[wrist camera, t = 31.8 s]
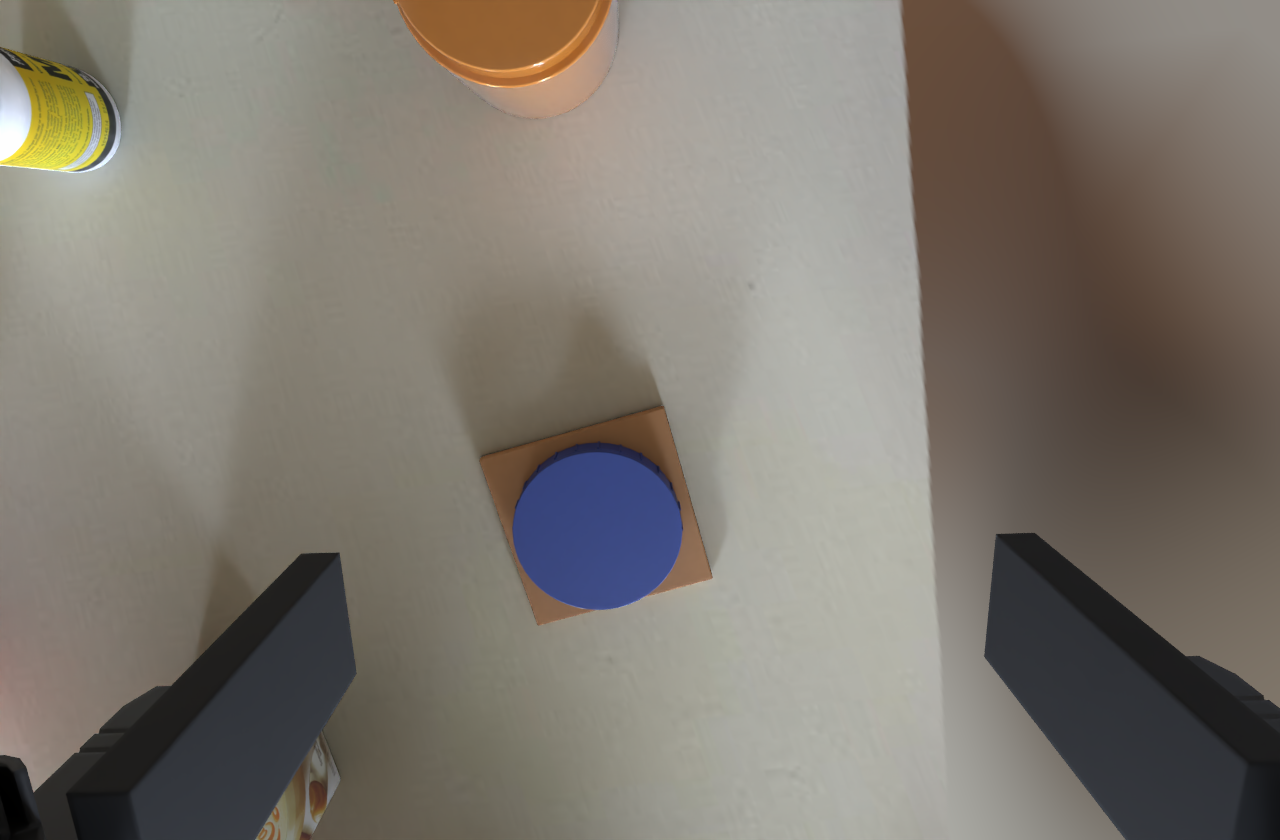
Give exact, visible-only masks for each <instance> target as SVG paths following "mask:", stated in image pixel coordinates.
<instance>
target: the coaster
mask: <svg viewBox="0 0 1280 840" xmlns="http://www.w3.org/2000/svg"><path fill="white" fill-rule="evenodd" d="M598 441H600V443H610V444H615V445H620V444H621V445H622V446H623V447H626V448H629V449H632V450H634V451H636V452H638V453H640V452H641V453H642V455H643V456H645V457H646V458H648V459H649V460H651V461H652V462H653V463H654V464H655V465H656V466H659V467H660V470H661V471H662V472H663V473H664V474H665V476H666V477H667V479H668V480H669V482H672V485H673V489H674V491H675V494H676V497H677V500H678V501H680V506H681V510H680V515H681V521H682V525H683V531H682V542H681V547H680V551H679V555H678V557H677V560H676V562H675V564H674V566H673V568H672V570H671V571H670V573H669V574H668V576H667V577H666V578H665V579H664V581H663V582H662V583H661V584H660V585H659V586H658V587H657V588H656V589H654V590H653V591H652V592H651V593H649V594H648V595H646V596H650V595H654V594H658V593H661V592H665V591H669V590H672V589H676V588H680V587H684V586H687V585H691V584H695V583H699V582H702V581H706V580H710V579H712V578H713V577H712V573H711V570H710V566H709V563H708V559H707V556H706V552H705V549H704V545H703V542H702V538H701V535H700V531H699V528H698V524H697V521H696V517H695V514H694V510H693V507H692V503H691V500H690V496H689V493H688V489H687V486H686V482H685V479H684V475H683V472H682V468H681V465H680V461H679V458H678V454H677V451H676V447H675V444H674V440H673V437H672V433H671V430H670V427H669V423H668V420H667V416H666V413H665V409H664V406H659V407H656V408H652V409H649V410H645V411H642V412H638V413H635V414H631V415H627V416H624V417H620V418H617V419H613V420H610V421H606V422H603V423H599V424H596V425H592V426H588V427H585V428H581V429H578V430H574V431H571V432H567V433H564V434H560V435H556V436H553V437H549V438H546V439H542V440H539V441H535V442H532V443H528V444H525V445H521V446H517V447H514V448H510V449H507V450H503V451H500V452H496V453H493V454H489V455H486V456H482V457H481V458H480V464H481V466H482V469H483V472H484V475H485V478H486V481H487V483H488V486H489V489H490V492H491V495H492V497H493V500H494V503H495V506H496V509H497V512H498V514H499V517H500V520H501V523H502V526H503V528H504V531H505V534H506V537H507V540H508V543H509V545H510V548H511V551H512V554H513V557H514V559H515V562H516V565H517V568H518V571H519V574H520V576H521V579H522V582H523V585H524V588H525V590H526V593H527V596H528V599H529V602H530V605H531V607H532V610H533V613H534V616H535V619H536V621H537V624H538V625H542V624H546V623H550V622H553V621H557V620H561V619H565V618H568V617H572V616H576V615H579V614H583V613H587V612H591V611H594V610H592V609H583V608H578V607H574V606H571V605H568V604H565V603H563V602H560V601H558V600H556V599H554V598H553V597H551V596H549V595H548V594H546V593H545V592H544V591H543V590H541V589H540V588H539V587H538V586H537V585H536V584H535V583H534V582H533V581H532V580H531V579H530V578H529V576H528V575H527V574H526V572H525V571H524V569H523V567H522V565H521V564H520V562H519V559H518V556H517V554H516V551H515V547H514V542H513V530H512V527H513V519H514V513H515V510H516V509H514V508H515V505H516V503H517V500H519V498H520V496H521V493H522V490H523V489H522V488H523V486H524V483H525V481H528V479H529V478H530V476H531V475H532V474H533V472H534V471H535V470H536V469H537V467H538V465H539V464H540V465H541V464H542V463H543V462H545V461H546V460H547V459H548V458H550V457H551V456H553V455H555V452H560V451H562V450H564V449H567V448H570V447H573V446H576V444H578V445H581V444H586V443H598ZM646 596H645V597H646Z"/></svg>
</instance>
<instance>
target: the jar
mask: <svg viewBox="0 0 1280 840" xmlns="http://www.w3.org/2000/svg"><path fill="white" fill-rule="evenodd" d="M393 1H394V3H395V4H397V6H398V9H399V12H400V14H401V16H402V18H403V20H404V22H405V24H406V25H407V27H408V29H409V31H410V32H411V33H412V35H413V36H414V38H415V39H416V41H417V42H418V43H419V44H420V45H421V47H422V48H423V49H424V50H425V51H426V52H427V53H428V54H429V55H430V56H431V57H432V58H433V59H434V60H435V61H437V62H438V63H439V64H440V65H441V66H442V67H444V68H445V69H446V70H447V71H448V72H450V73H451V74H452V75H453V76H454V77H456V78H457V79H458V80H459V81H460V82H462V83H463V84H464V85H465V86H466V87H468V88H469V89H470V90H471V91H472V92H474V93H475V94H476V95H477V96H478V97H480V98H481V99H482V100H483V101H485V102H486V103H488V104H489V105H491V106H492V107H494V108H496V109H498V110H500V111H502V112H504V113H507V114H510V115H513V116H517V117H522V118H532V119H539V118H548V117H553V116H557V115H560V114H563V113H565V112H568V111H570V110H572V109H574V108H575V107H577V106H579V105H580V104H581V103H583V102H584V101H585V100H587V99H588V98H589V97H590V96H591V95H592V94H593V93H594V92H595V91H596V90H597V88H598V87H599V86H600V85H601V83H602V82H603V80H604V79H605V77H606V75H607V73H608V72H609V69H610V67H611V65H612V62H613V59H614V56H615V53H616V49H617V42H618V32H619V18H618V0H393Z"/></svg>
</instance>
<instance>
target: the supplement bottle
mask: <svg viewBox="0 0 1280 840" xmlns="http://www.w3.org/2000/svg"><path fill="white" fill-rule="evenodd" d="M120 138H121V121H120V116H119V112H118V109H117V106H116V104H115V102H114V100H113V98H112V97H111V95H110V94H109V92H108V91H107V90H106V88H105V87H104V86H103V85H102V84H101V83H100V82H99V81H97V80H96V79H95V78H94V77H92V76H91V75H89V74H87V73H85V72H84V71H81V70H79V69H77V68H74V67H71V66H67V65H63V64H60V63H56V62H52V61H49V60H45V59H41V58H38V57H34V56H31V55H27V54H23V53H19V52H16V51H12V50H9V49H6V48H2V47H0V165H1V166H12V167H23V168H33V169H43V170H54V171H64V172H87V171H91V170H94V169H97V168H99V167H101V166H102V165H104V164H105V163H107V162H108V161H109V160H110V159H111V158H112V156H113V155H114V153H115V152H116V150H117V148H118V145H119V142H120Z"/></svg>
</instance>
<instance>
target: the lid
mask: <svg viewBox="0 0 1280 840" xmlns="http://www.w3.org/2000/svg"><path fill="white" fill-rule="evenodd" d="M522 489H523V490H522V493H521V496H520V498H519V500H517V503H516V505H515V508H514V509H516V510H515V513H514V519H513V527H512V530H513V542H514V547H515V551H516V554H517V556H518V559H519V562H520V564H521V565H522V567H523V569H524V571H525V572H526V574H527V575H528V576H529V578H530V579H531V580H532V581H533V582H534V583H535V584H536V585H537V586H538V587H539V588H540V589H541V590H543V591H544V592H545V593H546V594H548V595H549V596H551V597H553V598H554V599H556V600H558V601H560V602H563V603H565V604H568V605H571V606H574V607H578V608H583V609H592V610H604V609H613V608H618V607H622V606H625V605H629V604H631V603H633V602H635V601H638V600H640V599H641V598H643V597H645V596H646V595H648V594H649V593H651V592H652V591H653V590H654V589H656V588H657V587H658V586H659V585H660V584H661V583H662V582H663V581H664V579H665V578H666V577H667V576H668V574H669V573H670V571H671V570H672V568H673V566H674V564H675V562H676V560H677V557H678V555H679V551H680V547H681V542H682V531H683V525H682V521H681V515H680V510H681V506H680V501H678V500H677V497H676V494H675V491H674V489H673V485H672V482H669V480H668V479H667V477H666V476H665V474H664V473H663V472H662V471H661V470H660V467H659V466H656V465H655V464H654V463H653V462H652V461H651V460H649V459H648V458H646V457H645V456H643V455H642V453H641V452H640V453H638V452H636V451H634V450H632V449H629V448H626V447H623V446H622V445H621V444H620V445H615V444H610V443H600V441H598V443H586V444H581V445H578V444H576V446H573V447H570V448H567V449H564V450H562V451H560V452H555V455H553V456H551V457H550V458H548V459H547V460H546V461H545V462H543V463H542V464H541V465H540V464H539V465H538V467H537V469H536V470H535V471H534V472H533V474H532V475H531V476H530V478H529V479H528V481H525V483H524V486H523V488H522Z"/></svg>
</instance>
